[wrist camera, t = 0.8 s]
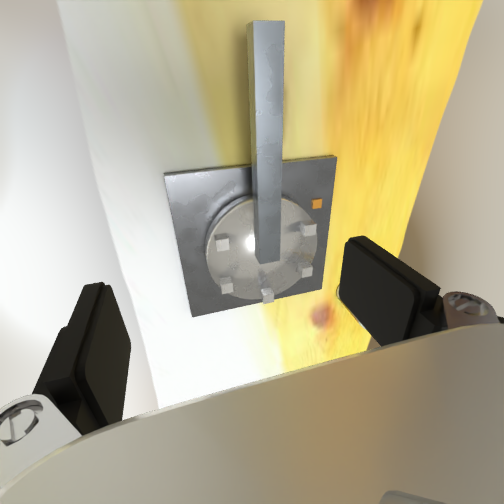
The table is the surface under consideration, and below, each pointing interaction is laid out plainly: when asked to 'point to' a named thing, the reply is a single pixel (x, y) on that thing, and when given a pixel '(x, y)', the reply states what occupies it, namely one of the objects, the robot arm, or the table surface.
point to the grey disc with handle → (262, 192)
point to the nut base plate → (223, 193)
